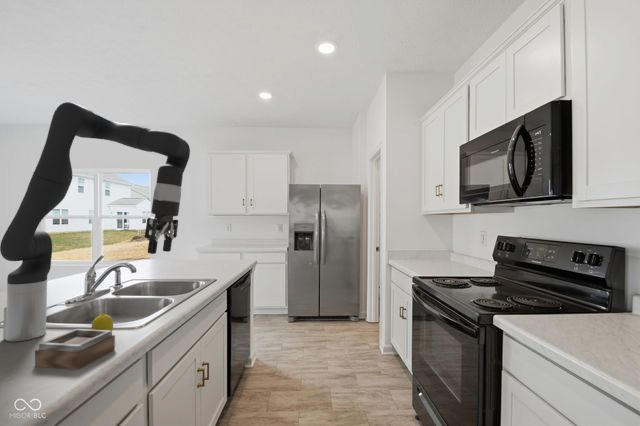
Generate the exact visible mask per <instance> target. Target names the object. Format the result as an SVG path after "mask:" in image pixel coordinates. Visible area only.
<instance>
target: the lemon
mask: <svg viewBox="0 0 640 426" xmlns="http://www.w3.org/2000/svg"><path fill="white" fill-rule="evenodd" d="M91 329H92V330H110V331H112V332H113V330H114V321H113V318H112V317H111V316H110V315H108V314H105V313H100V315H97V316H96V317H95V318H94V319H93V321H92V323H91Z"/></svg>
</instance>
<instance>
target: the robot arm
mask: <svg viewBox="0 0 640 426" xmlns="http://www.w3.org/2000/svg"><path fill="white" fill-rule="evenodd" d="M75 137H79V138H84V139H94V140H95V139H96V140H105V141H110V142H115V143H118V144H120V145H124V146H125V147H126V146H127V147H129V148H132V149H137V150H139V151H142V152H143V151H144V152H147V153H155V154H159V155H162V156H165V157H167V158H166V161H165V163H164V164H162V165H160V166H159V167H158V169H157V176H156V184H155V187H154V190H153V197H152V204H151V211H150V212H151V214H152V215H154V217H148V218H147V220H146V225H145V230H144V231H145V232H144V239H147V241H148V246H147V254H150V255H152V254H153V255H154V254H157V248H158V243H159V241H158V240H159V238H160V237H161V236H163V237H164V239H163V246H162V251H163V252H171V250H172V242H173V240H174V239H176V238H177V236H178V229H179V228H178V227H179V226H178V225H179V220H178V219H177V218H174V217H178V216H179V212H180V204H181V199H182V198H181V197H182V183H183V175H184V173H185V170H186V168H187V166H188V162H189V160H190V155H191V149H190V145H189V143H188V142H187V141H186V140H184V139H183V138H181V137H179V136H178V135H176V134H175V133H172V132H169V131H163V130H156V129H155V130H154V129H151V128H148V127H144V126H140V125H136V124H131V123H124V122H123V123H121V122H116V121H113V120H110V119H108V118H106V117H103V116H101V115H99V114H97V113H95V112H93V111H92V110H90V109H88V108H86V107H84V106H82V105H79V104H77V103H74V102H71V101H66V102H63V103H60V105H58V106H57V108H56V109H54V112H53V115H52V118H51V120H50V125H49V128H48V131H47V136H46V140H45V144H44V145H43V149H42V152H41V154H40V157H39V160H38V161H37V164H36V167H35V169H34V172H33V173H32V175H31V179H30V180H29V183H28V186H27V188H26V192H25V194H24V197H23V198H22V200H21V202H20V204H19V208H18V210H17V212H16V213H15V215H14V216H13V218H12V220H11V222H10V224H9V225H8V227H7V229H6V231H5V233H4V234H3V236H2V239H1V240H0V254H1V257H2V258H3V259H4V260H6V261H10V262H21V265H20V266H18V268H16V269H15V270H13V271H12V272H10V273H8V275H7V278H6V279H7V280H6V281H7V283H6V306H5V307H4V308H3V328H2V329H3V333H2V334H3V335H2V336H3V337H2V339H3V340H5V341H6V342H13V343H14V342H25V341H29V340H34V339H38V338H39V337H42V336H45V334H46V333H47V311H48V310H47V300H48V299H47V298H48V276H49V275H48V274H49V273H50V270H51V267H52V257H53V256H52V254H53V241H52V238H51V236H50V234H49V233H48V232H46V231H45V230H42V229H41V230H40V229H39V230H38V227H39V225H40V223H41V222H42V221H43V219H44V218H45V217H46V216H47V215H48V214H49V213H50V212H52V211H53V210H54V209H55V208H56V207H57V206H58V205H59V204H60V203H61V202H63V200H64V199H65V197H66V196H67V193H68V191H69V189H70V187H71V183H72V180H73V167H72V163H71V157H70V153H71V148H72V145H73V142H74V140H75Z"/></svg>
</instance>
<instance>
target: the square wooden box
mask: <svg viewBox="0 0 640 426" xmlns="http://www.w3.org/2000/svg"><path fill="white" fill-rule="evenodd" d="M115 339H116V335H114V334H113V330H112V331H110V330H92V329H89V328H86V329H85V328H75V329H72V330H70V331H68V332H65V333H63V334H60V335H58V336H56V337H55V336H54V337H53V338H49V339H47V340H46V341H42V342H40V343H38V349H35V351H34V367H38V368H39V367H40V368H55V369H67V370H80V369H81V368H83V367H85V366H87V365H88V364H91V363H92V362H94V361H96V360H98V359H100V358H102V357H104V356H105V355H107V354H109V353H110V352H112V351H114V350H115V347H116V343H115V342H116V340H115Z"/></svg>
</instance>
